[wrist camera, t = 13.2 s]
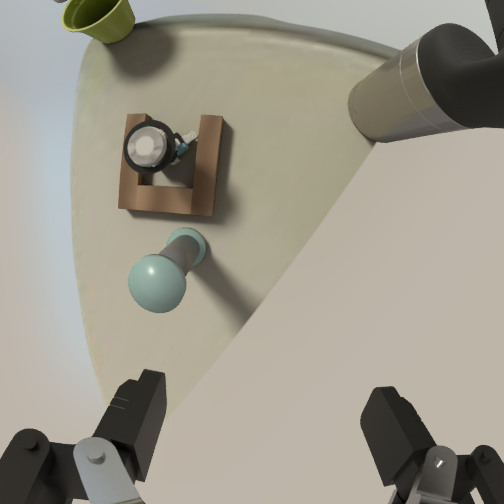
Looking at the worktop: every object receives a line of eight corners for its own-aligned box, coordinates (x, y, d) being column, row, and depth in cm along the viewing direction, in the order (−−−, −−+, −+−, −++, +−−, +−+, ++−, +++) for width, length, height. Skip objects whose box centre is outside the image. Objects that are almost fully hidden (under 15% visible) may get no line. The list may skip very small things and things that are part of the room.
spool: (207, 229, 36) (185, 260, 23) (204, 267, 37) (183, 316, 24) (169, 225, 36) (127, 253, 22) (167, 263, 37) (129, 308, 24)
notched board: (223, 119, 33) (222, 116, 31) (213, 214, 36) (211, 216, 34) (133, 116, 32) (127, 114, 30) (124, 206, 35) (118, 208, 33)
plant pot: (79, 37, 28) (51, 17, 20) (124, -4, 27) (104, -31, 18) (109, 64, 30) (80, 42, 21) (158, 19, 28) (140, -12, 20)
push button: (186, 118, 33) (165, 98, 23) (209, 151, 34) (195, 142, 24) (144, 150, 33) (110, 142, 24) (165, 182, 35) (137, 185, 25)
